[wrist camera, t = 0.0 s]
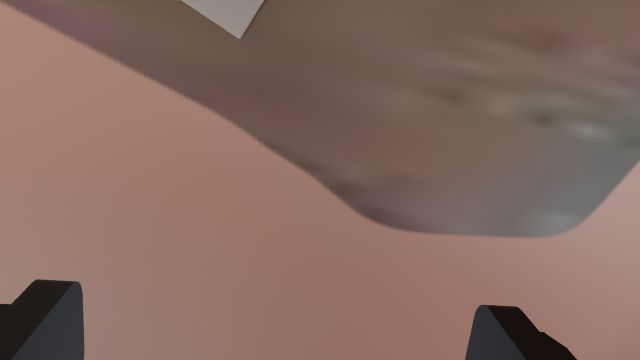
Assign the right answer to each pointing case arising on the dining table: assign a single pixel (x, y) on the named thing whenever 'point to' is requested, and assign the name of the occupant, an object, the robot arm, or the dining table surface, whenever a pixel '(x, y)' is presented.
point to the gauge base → (228, 13)
